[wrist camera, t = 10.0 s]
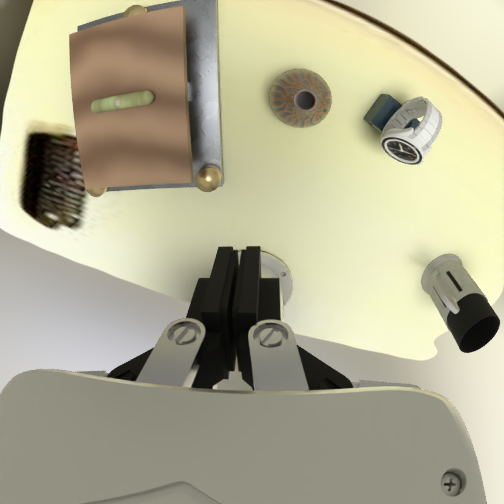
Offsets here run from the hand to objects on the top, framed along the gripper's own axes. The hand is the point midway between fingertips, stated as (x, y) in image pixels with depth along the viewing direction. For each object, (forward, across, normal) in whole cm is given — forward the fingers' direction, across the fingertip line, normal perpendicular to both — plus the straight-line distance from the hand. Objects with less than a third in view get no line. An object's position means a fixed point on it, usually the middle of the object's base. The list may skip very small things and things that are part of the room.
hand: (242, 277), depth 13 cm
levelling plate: (+23, +14, -8) cm, 28 cm away
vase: (+29, -5, -6) cm, 30 cm away
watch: (+29, -17, -4) cm, 34 cm away
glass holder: (+29, -29, +20) cm, 46 cm away
